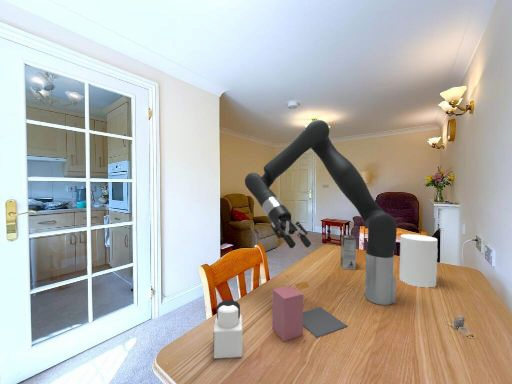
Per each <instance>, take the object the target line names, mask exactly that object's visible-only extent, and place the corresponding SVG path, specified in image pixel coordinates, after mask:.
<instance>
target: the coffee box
mask: <svg viewBox="0 0 512 384" xmlns="http://www.w3.org/2000/svg"><path fill="white" fill-rule="evenodd" d="M356 256H357V238H356V237H355V235H353V234H341V235H340V265H341V267H343V268H342V270H350V269H353V271H356V264H357V263H356V261H357V259H356V258H357V257H356Z"/></svg>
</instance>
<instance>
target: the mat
mask: <svg viewBox="0 0 512 384" xmlns="http://www.w3.org/2000/svg"><path fill="white" fill-rule="evenodd" d="M303 328H305V329H306V330H307V331H308V332H310V333H311V334H312V336H314V338H317V339H318V338H321V337H323V336H326V335H330V334H331V333H334V332H336V331H339V330H343V329H344V328H348V325H347V324H346V323H344V322H343V321H341V320H340V319H339V318H337V317H336V316H335V315H333V314H332V313H330V312H328V310H325V309H324V308H323V307H321V306H319V307H316V308H313V309H308V310H305V311H303Z"/></svg>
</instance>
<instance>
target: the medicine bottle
mask: <svg viewBox="0 0 512 384" xmlns="http://www.w3.org/2000/svg"><path fill="white" fill-rule="evenodd" d="M213 326H214V327H213V358H214V359H228V358H229V359H231V358H233V359H234V358H242V357H243V315H242V314H241V306H240V303H239V302H238V301H237V300H234V299H233V300H232V299H226V300H223V301H220V302H219V303H218V304H217V306H216V316H215V321H214V325H213Z"/></svg>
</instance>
